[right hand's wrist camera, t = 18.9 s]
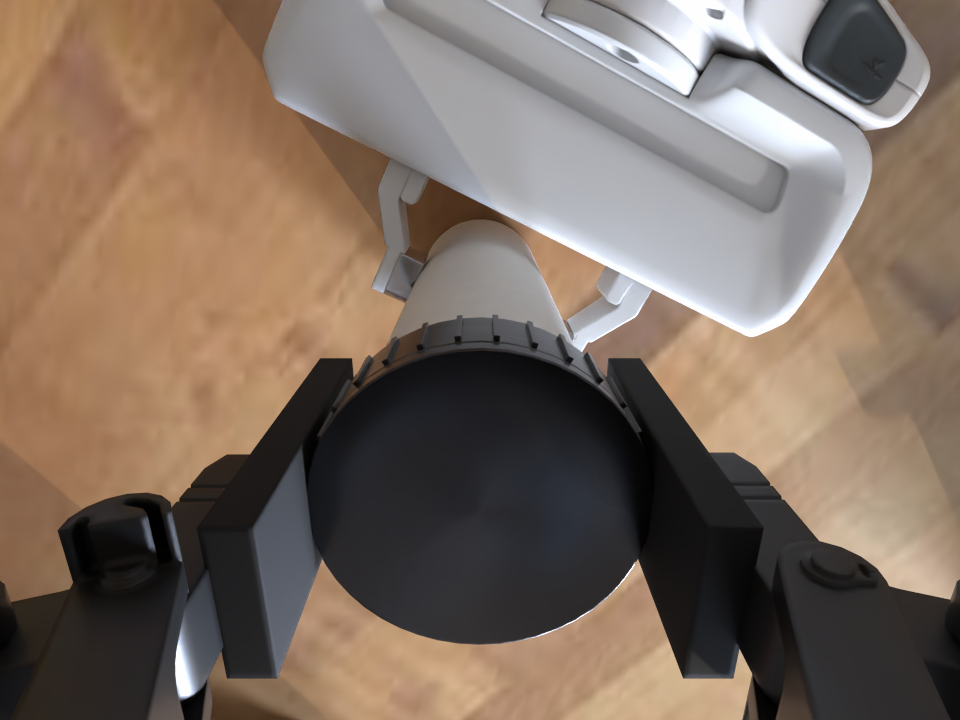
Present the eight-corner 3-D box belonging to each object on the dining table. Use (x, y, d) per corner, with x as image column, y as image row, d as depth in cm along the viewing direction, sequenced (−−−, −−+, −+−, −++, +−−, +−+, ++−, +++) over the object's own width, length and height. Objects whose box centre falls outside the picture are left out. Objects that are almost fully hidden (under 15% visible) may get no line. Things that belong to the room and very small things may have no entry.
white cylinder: (548, 311, 29) (651, 570, 12) (444, 342, 30) (393, 633, 12) (518, 204, 27) (588, 319, 10) (408, 238, 28) (287, 405, 10)
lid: (387, 260, 11) (370, 283, 9) (691, 386, 12) (727, 429, 10) (288, 527, 13) (258, 587, 11) (552, 616, 14) (562, 685, 12)
